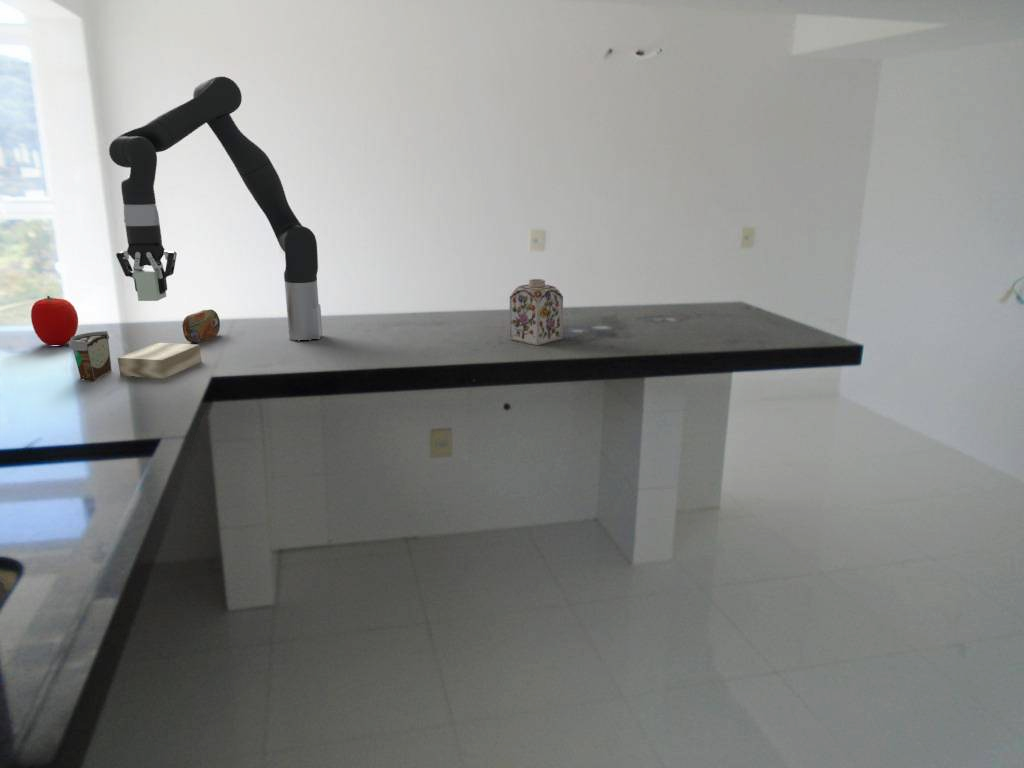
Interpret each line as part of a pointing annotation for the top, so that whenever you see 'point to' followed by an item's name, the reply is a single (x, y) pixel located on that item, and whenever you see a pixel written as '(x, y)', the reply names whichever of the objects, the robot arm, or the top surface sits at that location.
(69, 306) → the red apple
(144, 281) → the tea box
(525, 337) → the decorative jar
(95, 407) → the top surface
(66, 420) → the top surface
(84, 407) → the top surface
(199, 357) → the maple block
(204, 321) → the tin
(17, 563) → the top surface
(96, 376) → the food container
